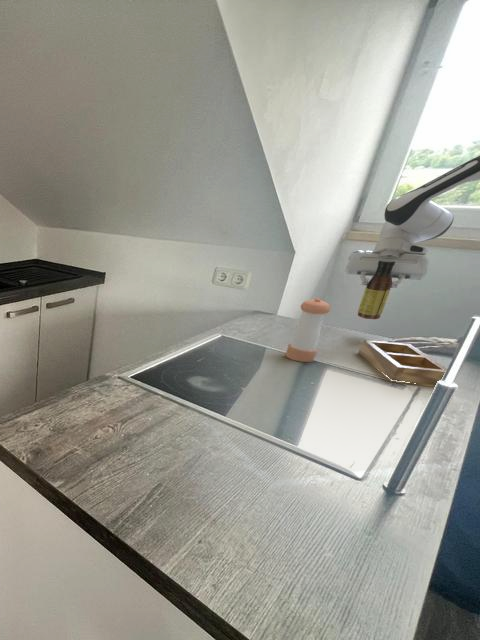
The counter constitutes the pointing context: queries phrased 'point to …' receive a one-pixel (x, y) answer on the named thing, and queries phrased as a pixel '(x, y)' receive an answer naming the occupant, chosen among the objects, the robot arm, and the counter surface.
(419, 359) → the wooden compartment tray
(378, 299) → the sauce bottle
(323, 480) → the counter surface
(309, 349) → the pepper shaker
